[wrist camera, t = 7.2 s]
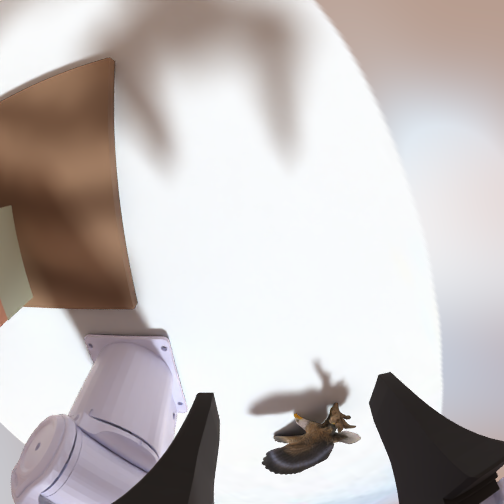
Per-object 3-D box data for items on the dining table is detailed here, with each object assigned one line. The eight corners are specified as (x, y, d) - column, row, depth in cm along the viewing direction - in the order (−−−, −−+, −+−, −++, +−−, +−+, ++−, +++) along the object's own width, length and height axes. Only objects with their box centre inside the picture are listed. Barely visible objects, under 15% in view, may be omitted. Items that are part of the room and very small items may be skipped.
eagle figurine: (303, 392, 23) (245, 448, 24) (357, 443, 18) (288, 497, 19) (329, 388, 29) (280, 437, 29) (372, 427, 24) (317, 475, 24)
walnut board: (137, 302, 20) (133, 309, 19) (-24, 298, 19) (-29, 302, 18) (114, 61, 14) (109, 57, 13) (-50, 138, 13) (-56, 139, 12)
